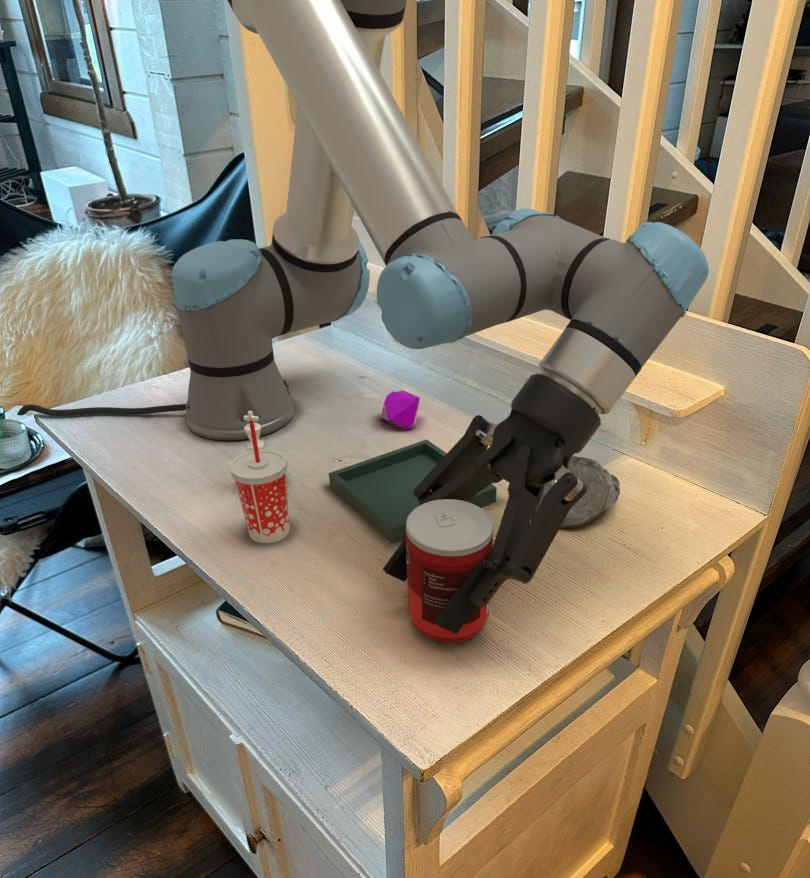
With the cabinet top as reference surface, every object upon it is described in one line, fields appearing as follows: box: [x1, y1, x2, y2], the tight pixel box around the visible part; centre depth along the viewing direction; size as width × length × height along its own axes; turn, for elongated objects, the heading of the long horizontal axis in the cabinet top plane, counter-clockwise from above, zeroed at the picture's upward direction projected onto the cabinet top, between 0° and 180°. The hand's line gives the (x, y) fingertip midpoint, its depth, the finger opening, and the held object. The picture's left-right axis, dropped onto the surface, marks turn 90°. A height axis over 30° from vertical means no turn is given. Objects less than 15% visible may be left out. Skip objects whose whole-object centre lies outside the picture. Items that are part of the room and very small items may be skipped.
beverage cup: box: [228, 420, 291, 544], centre depth 82 cm, size 6×6×14 cm
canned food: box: [406, 499, 494, 643], centre depth 70 cm, size 8×8×11 cm
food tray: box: [328, 439, 498, 544], centre depth 91 cm, size 15×15×2 cm
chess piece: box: [244, 411, 265, 451], centre depth 92 cm, size 5×5×10 cm
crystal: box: [380, 390, 421, 431], centre depth 106 cm, size 5×5×5 cm
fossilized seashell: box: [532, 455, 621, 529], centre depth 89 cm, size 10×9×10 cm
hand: (418, 600), depth 69 cm, fingers closed on canned food, 8 cm apart
